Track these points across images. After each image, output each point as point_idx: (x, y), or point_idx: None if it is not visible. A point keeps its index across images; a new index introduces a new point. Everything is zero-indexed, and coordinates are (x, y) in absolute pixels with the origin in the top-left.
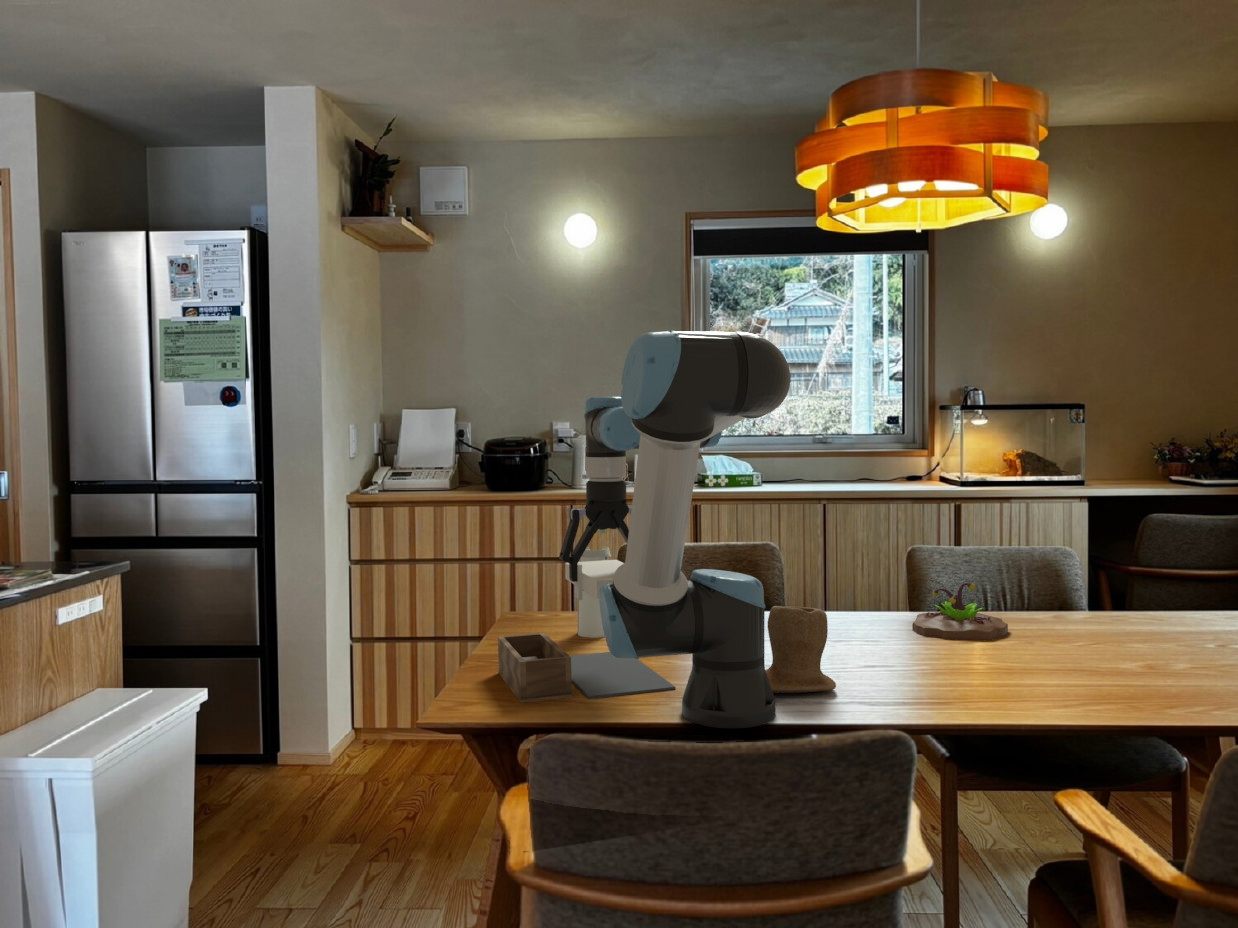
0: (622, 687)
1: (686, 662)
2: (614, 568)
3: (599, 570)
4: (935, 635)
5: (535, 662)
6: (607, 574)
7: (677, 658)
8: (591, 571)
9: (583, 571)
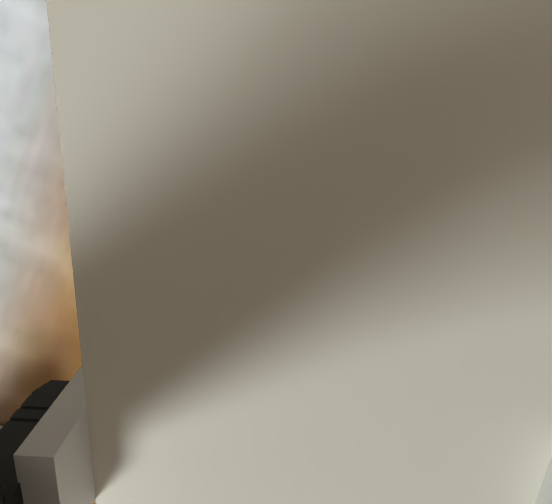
0: None
1: (48, 250)
2: (249, 484)
3: (395, 453)
4: None
5: None
6: (429, 258)
7: (60, 296)
8: (472, 439)
9: (526, 462)
